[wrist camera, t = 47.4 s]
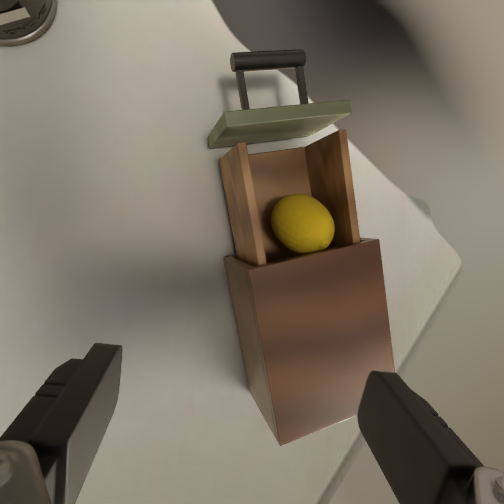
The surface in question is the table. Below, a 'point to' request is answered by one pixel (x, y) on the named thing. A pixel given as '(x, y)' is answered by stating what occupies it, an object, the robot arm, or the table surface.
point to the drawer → (282, 162)
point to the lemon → (302, 224)
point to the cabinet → (311, 334)
